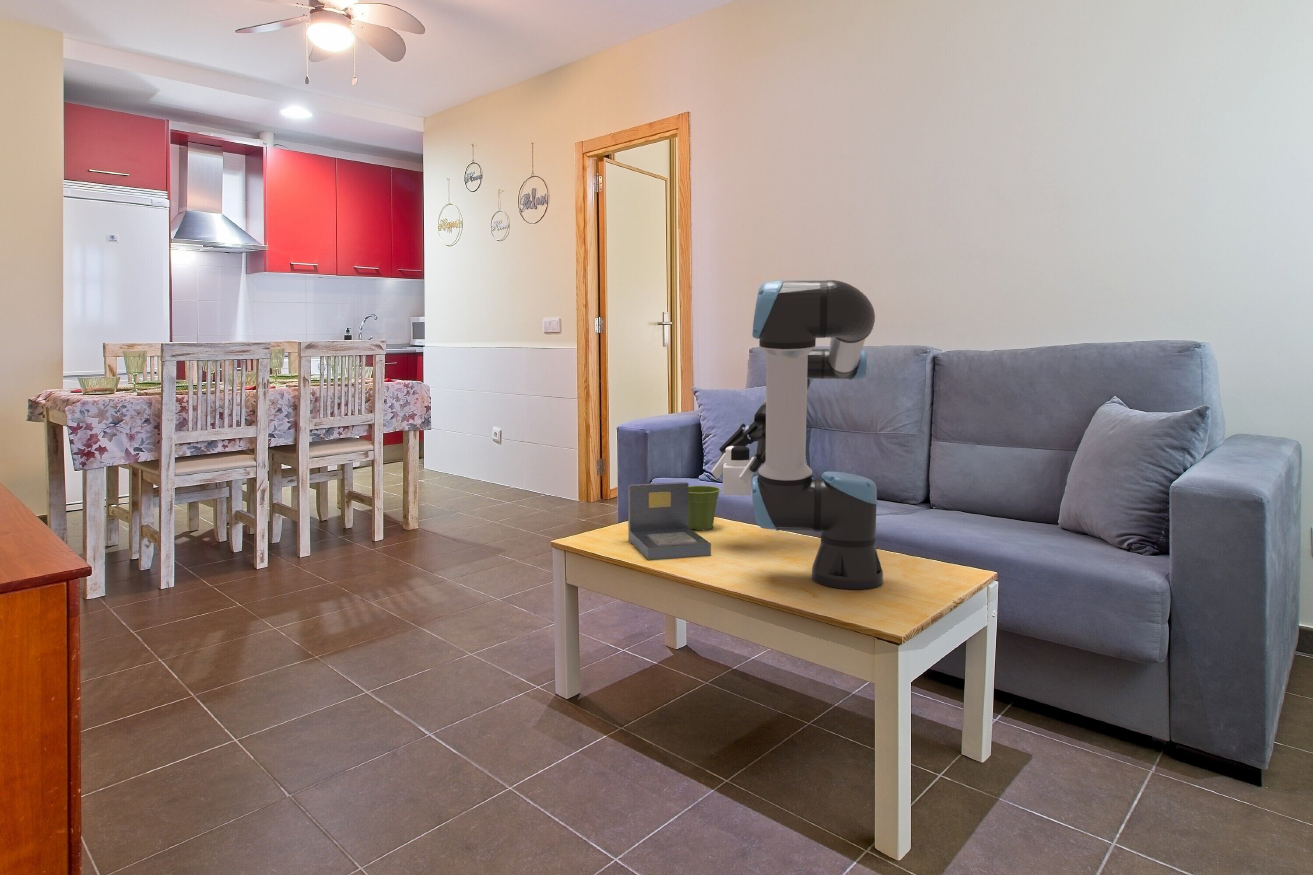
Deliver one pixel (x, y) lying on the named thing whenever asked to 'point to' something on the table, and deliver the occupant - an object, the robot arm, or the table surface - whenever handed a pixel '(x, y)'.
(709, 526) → the plant pot
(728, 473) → the medicine bottle
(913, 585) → the table surface
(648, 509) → the bookend
